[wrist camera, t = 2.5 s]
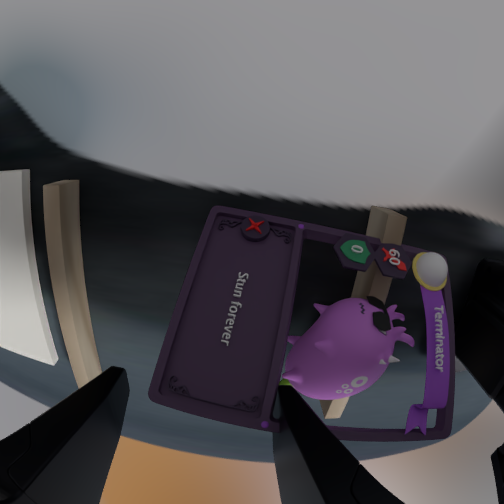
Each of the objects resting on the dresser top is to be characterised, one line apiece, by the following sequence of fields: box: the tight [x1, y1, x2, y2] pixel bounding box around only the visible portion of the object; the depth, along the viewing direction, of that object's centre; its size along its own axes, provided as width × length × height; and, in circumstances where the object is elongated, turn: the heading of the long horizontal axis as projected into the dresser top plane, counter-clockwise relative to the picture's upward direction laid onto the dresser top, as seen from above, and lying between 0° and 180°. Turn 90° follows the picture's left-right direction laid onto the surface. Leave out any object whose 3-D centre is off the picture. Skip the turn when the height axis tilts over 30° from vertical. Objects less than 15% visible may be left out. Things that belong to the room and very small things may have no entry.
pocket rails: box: [43, 180, 407, 419], centre depth 11 cm, size 13×10×2 cm
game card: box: [148, 205, 455, 442], centre depth 10 cm, size 7×5×9 cm
